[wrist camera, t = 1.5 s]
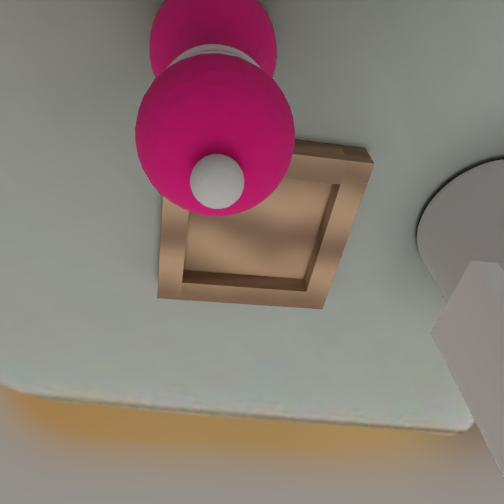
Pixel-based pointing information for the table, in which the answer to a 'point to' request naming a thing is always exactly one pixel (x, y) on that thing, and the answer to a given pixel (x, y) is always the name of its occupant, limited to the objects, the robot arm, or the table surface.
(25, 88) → the table surface
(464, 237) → the cylinder vase
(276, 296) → the walnut holder
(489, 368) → the robot arm
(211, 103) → the pepper mill
